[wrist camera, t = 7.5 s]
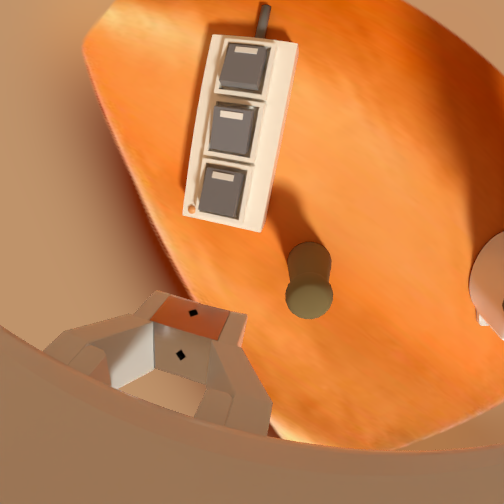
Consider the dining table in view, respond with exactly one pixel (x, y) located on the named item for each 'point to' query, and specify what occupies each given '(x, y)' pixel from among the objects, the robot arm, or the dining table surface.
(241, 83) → the rocker
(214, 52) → the switch strip
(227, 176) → the rocker
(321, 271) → the cork
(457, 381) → the dining table surface
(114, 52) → the dining table surface
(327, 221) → the dining table surface
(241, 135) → the rocker
